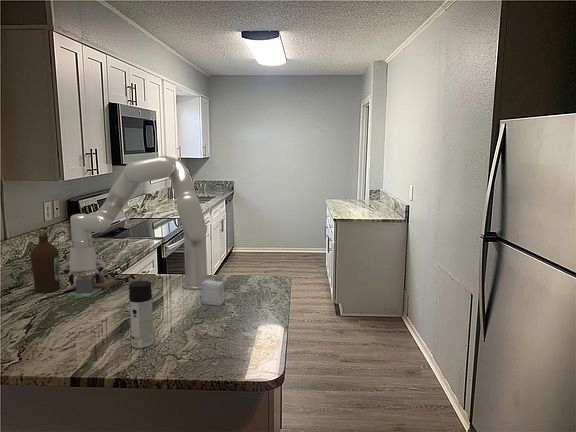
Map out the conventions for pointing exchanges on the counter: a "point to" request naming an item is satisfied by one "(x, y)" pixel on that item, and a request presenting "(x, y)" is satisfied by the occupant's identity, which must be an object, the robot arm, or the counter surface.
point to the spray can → (141, 314)
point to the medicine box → (212, 292)
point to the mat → (85, 293)
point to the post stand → (104, 281)
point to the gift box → (85, 284)
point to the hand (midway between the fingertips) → (84, 283)
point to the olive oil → (45, 265)
